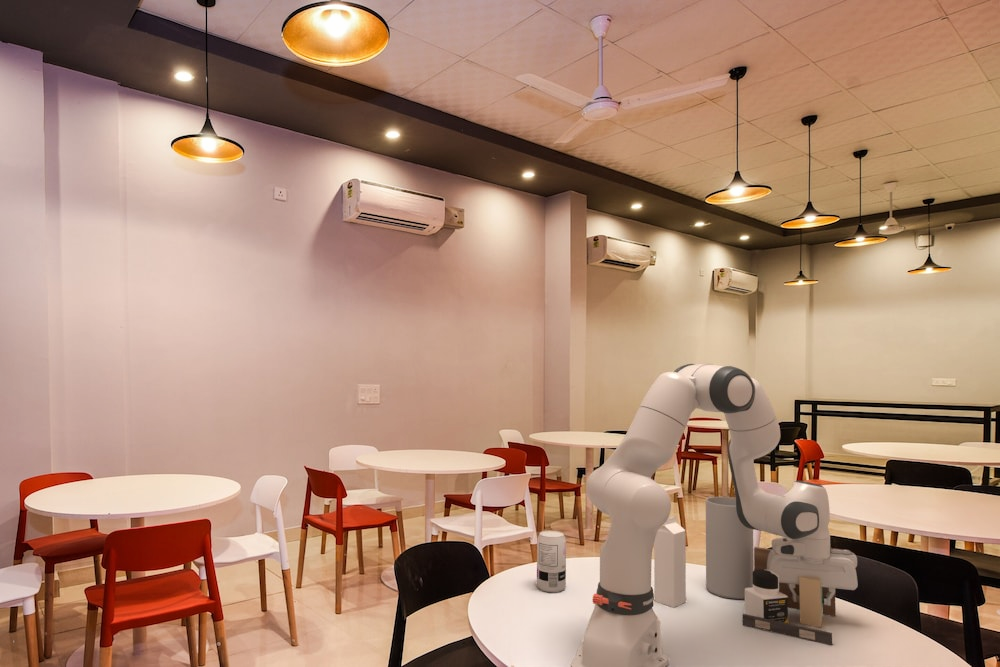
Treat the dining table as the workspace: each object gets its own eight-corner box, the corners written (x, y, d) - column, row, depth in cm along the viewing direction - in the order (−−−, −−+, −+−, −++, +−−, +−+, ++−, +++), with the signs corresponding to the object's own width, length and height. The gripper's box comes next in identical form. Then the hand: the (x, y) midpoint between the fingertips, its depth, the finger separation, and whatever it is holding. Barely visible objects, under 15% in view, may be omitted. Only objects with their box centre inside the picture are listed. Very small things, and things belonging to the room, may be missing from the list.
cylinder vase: (757, 602, 158) (756, 507, 160) (708, 597, 161) (707, 504, 163) (750, 586, 170) (749, 498, 172) (704, 581, 173) (704, 495, 175)
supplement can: (531, 585, 168) (532, 531, 169) (556, 581, 171) (557, 528, 173) (545, 594, 161) (546, 538, 162) (571, 590, 164) (571, 535, 165)
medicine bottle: (764, 628, 142) (763, 577, 142) (744, 616, 148) (743, 568, 149) (788, 625, 143) (788, 575, 144) (768, 614, 150) (767, 566, 151)
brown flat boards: (832, 645, 133) (830, 582, 134) (742, 625, 143) (741, 566, 144) (835, 615, 150) (834, 559, 151) (755, 599, 160) (754, 546, 161)
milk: (685, 602, 157) (686, 518, 159) (673, 608, 153) (674, 521, 155) (665, 595, 162) (666, 514, 163) (653, 601, 158) (654, 517, 159)
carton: (823, 617, 149) (822, 573, 149) (821, 627, 143) (820, 581, 143) (802, 613, 151) (801, 569, 152) (800, 623, 145) (799, 577, 146)
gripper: (852, 547, 148) (854, 603, 147) (764, 539, 154) (765, 593, 153) (860, 554, 142) (862, 613, 141) (769, 546, 148) (769, 602, 147)
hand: (811, 603), depth 147 cm, fingers closed on carton, 5 cm apart
